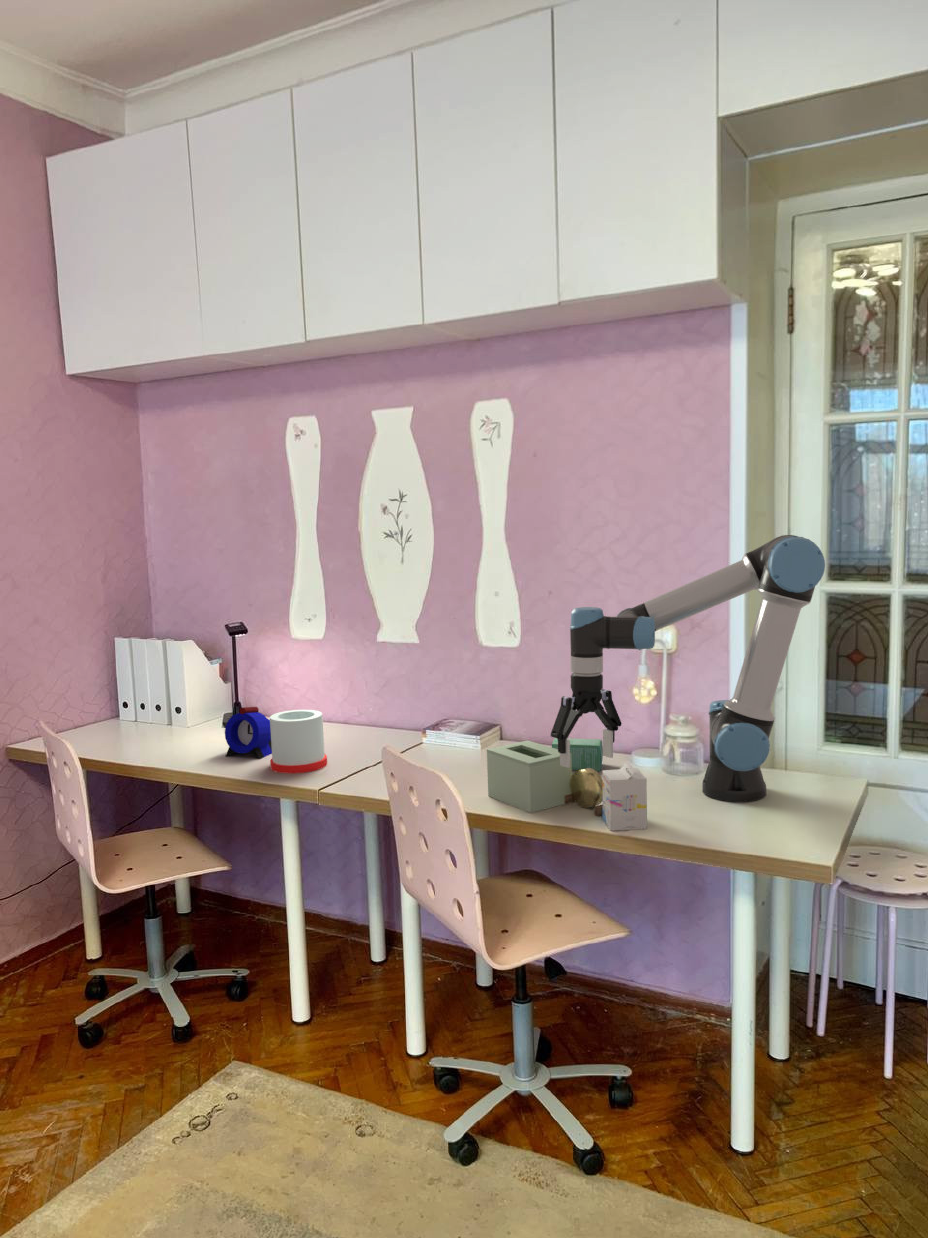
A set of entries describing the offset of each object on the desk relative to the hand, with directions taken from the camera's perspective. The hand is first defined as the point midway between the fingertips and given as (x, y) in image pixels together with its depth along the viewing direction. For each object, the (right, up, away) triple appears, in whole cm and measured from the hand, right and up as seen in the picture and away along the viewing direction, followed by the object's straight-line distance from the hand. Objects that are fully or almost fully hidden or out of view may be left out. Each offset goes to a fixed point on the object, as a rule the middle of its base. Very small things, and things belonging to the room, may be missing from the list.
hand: (586, 761), depth 226 cm
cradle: (+1, -11, +1) cm, 11 cm away
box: (+2, -7, +35) cm, 36 cm away
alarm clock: (-93, -7, +62) cm, 112 cm away
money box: (-13, -11, +9) cm, 19 cm away
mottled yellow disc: (+1, -11, +1) cm, 11 cm away
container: (-76, -8, +46) cm, 90 cm away
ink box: (+7, -13, -11) cm, 18 cm away
